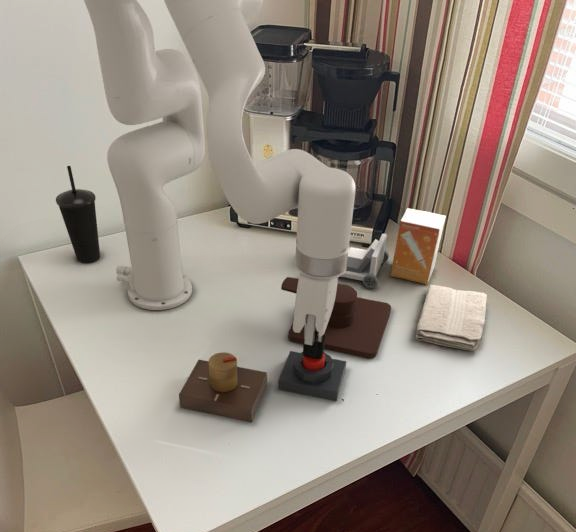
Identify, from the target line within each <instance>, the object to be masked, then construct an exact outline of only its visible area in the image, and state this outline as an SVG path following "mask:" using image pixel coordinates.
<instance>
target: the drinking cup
mask: <svg viewBox="0 0 576 532" xmlns="http://www.w3.org/2000/svg"><path fill="white" fill-rule="evenodd" d="M66 168H67V172H68V178H69V182H70V187H71V189H68V190H66V191H63V192H61V193H59V194H58V195H57V196H56V197H55V203H56V205H57V206H58V208H59V210H60V214H61V217H62V220H63V222H64V226H65V228H66V231H67V234H68V237H69V240H70V243H71V245H72V249H73V252H74V254H75V257H76V260H77V261H78V262H79V263H82V264H92V263H96V262H97V261H99V260H100V258H101V251H100V240H99V232H98V231H99V230H98V222H97V212H96V199H97V197H96V194H95V193H94V192H93V191H91V190H88V189H81V188H76V184H75V180H74V175H73V170H72V166H71V165H67V166H66Z"/></svg>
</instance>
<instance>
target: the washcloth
mask: <svg viewBox="0 0 576 532" xmlns="http://www.w3.org/2000/svg"><path fill="white" fill-rule="evenodd" d="M487 301H488V295H487V293H485V292H480V291H473V290H463V289H461V290H459V289H454V288H453V287H448V286H442V285H437V284H430V285H429V284H428V287H427V292H426V294H425V298H424V302H423V304H422V309H421V312H420V316H419V319H418V322H417V325H416V334H415V340H417V341H421V342H426V343H429V344H434V345H438V346H443V347H450V348H454V349H460V350H464V351H472V352H475V351H476V350H477V348H478V347H479V345H480V340H481V339H482V336H483V331H484V326H485V324H486V322H485V321H486V312H487Z"/></svg>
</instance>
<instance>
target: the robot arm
mask: <svg viewBox="0 0 576 532" xmlns="http://www.w3.org/2000/svg"><path fill="white" fill-rule="evenodd" d="M83 1H84V5H85V7H86V10H87V13H88V14H89V18H90V21H91V24H92V27H93V30H94V35H95V36H94V37H95V42H96V48H97V54H98V61H99V66H100V71H101V77H102V82H103V88H104V93H105V94H104V95H105V99H106V102H107V106H108V109H109V112H110V113H111V115H112V116H113V118H114V119H115V120H116V121H117V122H118V123H119V124H122V125H125V126H136V125H142V124H146V123H150V122H152V121H156V120H160V119H162V121H159V122H156V123H154V124H151V125H146V126H143V127H140V128H138V129H135V130H131V131H129V132H125V133H124V134H122V135H120V136H118V137H117V138H115V139H114V140H113V142H111V143H110V145H109V147H108V150H107V154H106V156H107V157H106V160H107V164H108V169H109V172H110V175H111V177H112V181H113V183H114V186H115V189H116V193H117V195H118V199H119V203H120V208H121V213H122V218H123V224H124V228H125V235H126V242H127V247H128V253H129V259H130V260H129V261H130V264H131V266H130V267H129V266H126V265H121V264H117V266H116V269H115V273H116V274H117V275H116V281H118V282H123V283H127V284H129V285H128V287H127V296H128V299H129V301H130V302H131V304H134V305H135V306H137V307H138V308H141V309H144V310H150V311H165V310H170V309H175V308H176V307H178V306H182V305H183V304H185V303H186V302H187V301H188V300H189V299H190V298H191V296H192V294H193V286H192V282H191V280H190V279H189V278H188V277H186V276H185V275H184V272H183V263H182V253H181V243H180V233H179V225H178V222H179V221H178V216H177V209H176V206H175V203H174V201H173V200H172V199H171V197H170V196H169V195H168V194H166V192H165V191H164V186H165V185H166V184H169V183H171V182H172V181H175V180H177V179H180V178H183V177H185V176H188V175H189V174H192V173H194V172H195V171H197V170H198V169H199V168H200V167H201V166H202V164H203V162H204V159H205V153H206V148H207V156H208V161H209V163H210V166H211V168H212V172H213V174H214V176H215V178H216V180H217V182H218V184H219V186H220V188H221V190H222V192H223V194H224V196H225V198H226V200H227V202H228V203H229V205H230V206H231V208H232V209H233V211H234V212H235V213H236V214H237V216H239V217H240V218H241V219H242V220H243V221H245V222H247V223H249V224H253V225H260V224H264V223H267V222H270V221H272V220H274V219H276V218H278V217H279V216H282V215H283V214H285V213H287V212H290V211H291V210H296V209H297V221H296V223H297V224H296V237H295V238H296V241H295V260H294V267H295V270H296V271H297V272H298V273H299V276H298V278H299V280H298V286H297V293H295V303H294V313H293V321H292V324H293V331H294V332H295V333H296V332H297V333H300V331H301V330H302V328H303V326H304V325H305V329H304V343H303V344H302V345H303V346H302V352H303V356H305V357H310V358H315V359H322V356H323V353H325V349H324V345H325V335H324V333H325V330H326V327H327V324H328V322H329V319H330V316H331V313H332V310H333V306H334V302H335V297H336V291H337V283H338V281H339V278H340V277H341V275H343V274H344V273H345V271H346V268H347V259H348V250H349V249H350V242H351V241H350V240H351V233H352V223H353V215H354V206H355V198H356V182H355V180H354V178H353V177H352V175H351V174H349V173H348V172H347V171H345V170H342V169H340V168H335V167H329V166H328V165H326V164H324V163H323V162H322V161H320V160H319V159H318V158H316V156H314V155H312V154H311V153H309V152H308V151H305V150H304V149H299V148H291V149H287V150H284V151H281V152H280V153H277V154H275V155H273V156H269V157H268V158H265V159H262V160H261V161H258V162H256V163H254V160H253V159H252V156H251V155H250V152H249V150H248V148H247V145H246V141H245V138H244V133H243V115H244V110H245V107H246V104H247V102H248V99H249V97H250V95H251V94H252V93H253V92H254V91H255V89H256V88H257V87H258V86H259V85H260V83H261V82H262V81H263V79H264V77H265V74H266V64H265V61H264V59H263V58H262V55H261V53H260V51H259V49H258V45H257V44H256V41H255V39H254V37H253V36H252V32H251V30H250V28H249V26H248V24H247V22H246V20H248V19H251V18H253V17H255V16H256V15H257V14H258V13H259V12H260V11H261V9H262V7H263V5H264V1H265V0H163V1H164V4H165V6H166V8H167V11H168V13H169V15H170V17H171V19H172V21H173V23H174V25H175V27H176V30H177V31H178V34H179V36H180V38H181V40H182V43H183V44H184V46H185V48H186V50H187V53H188V55H189V57H190V58H188V57H187V55H185V53H183V52H182V51H179V50H178V49H174V48H164V49H159V50H156V48H155V39H154V31H153V26H152V23H151V21H150V19H149V17H148V15H147V13H146V11H145V10H144V8H143V6H142V5H141V4H140V2H139V1H138V0H83ZM190 59H191V60H190ZM199 78H200V79H199ZM200 80H201V82H202V84H203V87H204V88H205V91H206V92H207V96H208V109H207V115H206V122H205V123H206V126H205V128H204V115H203V101H202V99H203V98H202V89H201V83H200ZM205 131H206V132H205ZM205 133H206V135H205ZM205 136H206V138H205ZM205 139H206V140H205Z"/></svg>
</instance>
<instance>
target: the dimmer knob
mask: <svg viewBox="0 0 576 532" xmlns="http://www.w3.org/2000/svg"><path fill="white" fill-rule="evenodd" d="M237 359H238V358H237V357H236V356H235V355H234V354H233V353H230V352H225V351H224V352H222V351H221V352H217V353H214V354H213V355H211V356H210V357H209V359H208V361H209V374H210V385H211V387H212V388H213V389H214V390H216V391H219V392H228V391H231V390H233V389H234V388H235V387H236V386H237V383H238V379H237V367H238V360H237Z"/></svg>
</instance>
